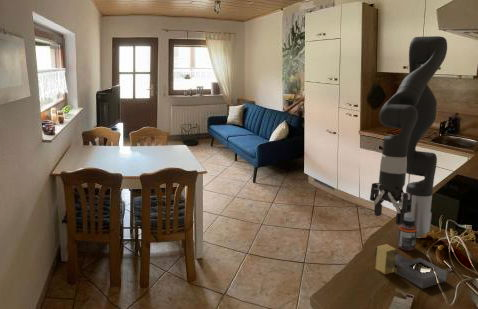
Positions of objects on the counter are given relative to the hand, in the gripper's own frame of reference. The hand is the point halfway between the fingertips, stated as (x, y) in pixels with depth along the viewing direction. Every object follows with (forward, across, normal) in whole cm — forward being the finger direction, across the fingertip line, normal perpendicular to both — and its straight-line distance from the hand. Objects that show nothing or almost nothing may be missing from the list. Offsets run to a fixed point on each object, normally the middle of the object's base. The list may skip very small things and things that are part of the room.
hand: (388, 219), depth 124 cm
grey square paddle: (+17, -2, -8) cm, 19 cm away
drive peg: (+18, 0, -1) cm, 18 cm away
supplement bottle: (+17, +9, -20) cm, 28 cm away
